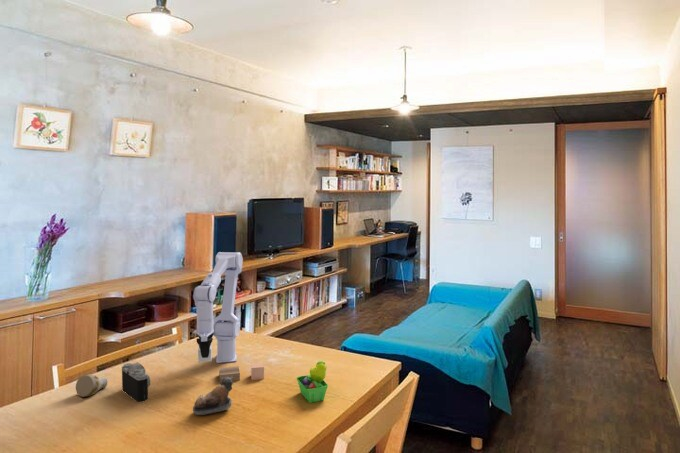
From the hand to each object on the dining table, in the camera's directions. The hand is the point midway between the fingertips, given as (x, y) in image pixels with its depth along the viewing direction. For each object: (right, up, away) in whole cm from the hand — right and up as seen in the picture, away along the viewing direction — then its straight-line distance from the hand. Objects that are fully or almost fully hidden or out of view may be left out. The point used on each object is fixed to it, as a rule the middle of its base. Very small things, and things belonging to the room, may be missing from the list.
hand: (205, 355), depth 162 cm
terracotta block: (+19, -9, +1) cm, 21 cm away
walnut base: (+9, -9, 0) cm, 12 cm away
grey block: (0, -2, 0) cm, 2 cm away
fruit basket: (+41, -9, -15) cm, 44 cm away
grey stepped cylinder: (-34, -9, -12) cm, 38 cm away
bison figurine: (+10, -10, -26) cm, 30 cm away
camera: (-18, -9, -13) cm, 24 cm away
